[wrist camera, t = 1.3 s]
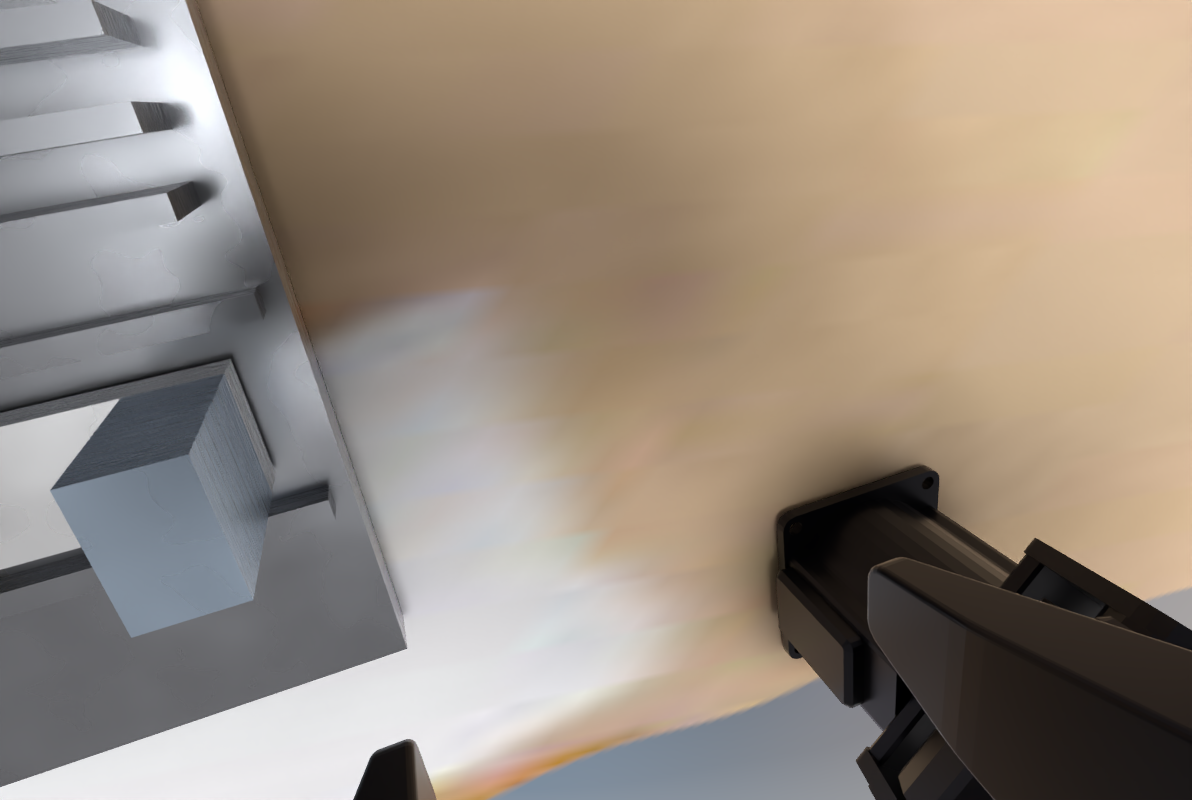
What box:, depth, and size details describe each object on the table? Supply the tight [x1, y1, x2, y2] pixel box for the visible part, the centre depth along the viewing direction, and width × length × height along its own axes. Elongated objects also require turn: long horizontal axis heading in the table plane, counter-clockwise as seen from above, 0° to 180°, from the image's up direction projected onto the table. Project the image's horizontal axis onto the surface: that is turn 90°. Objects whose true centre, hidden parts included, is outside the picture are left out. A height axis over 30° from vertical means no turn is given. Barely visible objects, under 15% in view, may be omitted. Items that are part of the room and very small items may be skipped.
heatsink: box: [0, 0, 407, 787], centre depth 15 cm, size 12×18×5 cm, turn 9°
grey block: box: [0, 359, 276, 638], centre depth 14 cm, size 7×3×5 cm, turn 99°
